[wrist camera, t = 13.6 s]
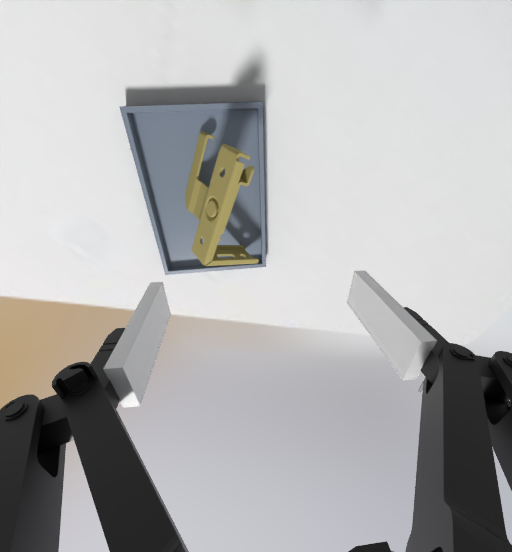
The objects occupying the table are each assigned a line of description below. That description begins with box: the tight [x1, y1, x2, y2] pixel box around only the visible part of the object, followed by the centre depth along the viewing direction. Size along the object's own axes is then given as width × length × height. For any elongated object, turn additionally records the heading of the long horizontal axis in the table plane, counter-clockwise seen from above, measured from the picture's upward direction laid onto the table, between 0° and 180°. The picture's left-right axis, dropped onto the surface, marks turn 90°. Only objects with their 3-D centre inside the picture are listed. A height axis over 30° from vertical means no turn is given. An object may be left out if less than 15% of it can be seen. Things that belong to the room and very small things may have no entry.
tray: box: [120, 102, 266, 275], centre depth 35 cm, size 23×17×2 cm
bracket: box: [185, 131, 259, 266], centre depth 34 cm, size 10×14×10 cm
